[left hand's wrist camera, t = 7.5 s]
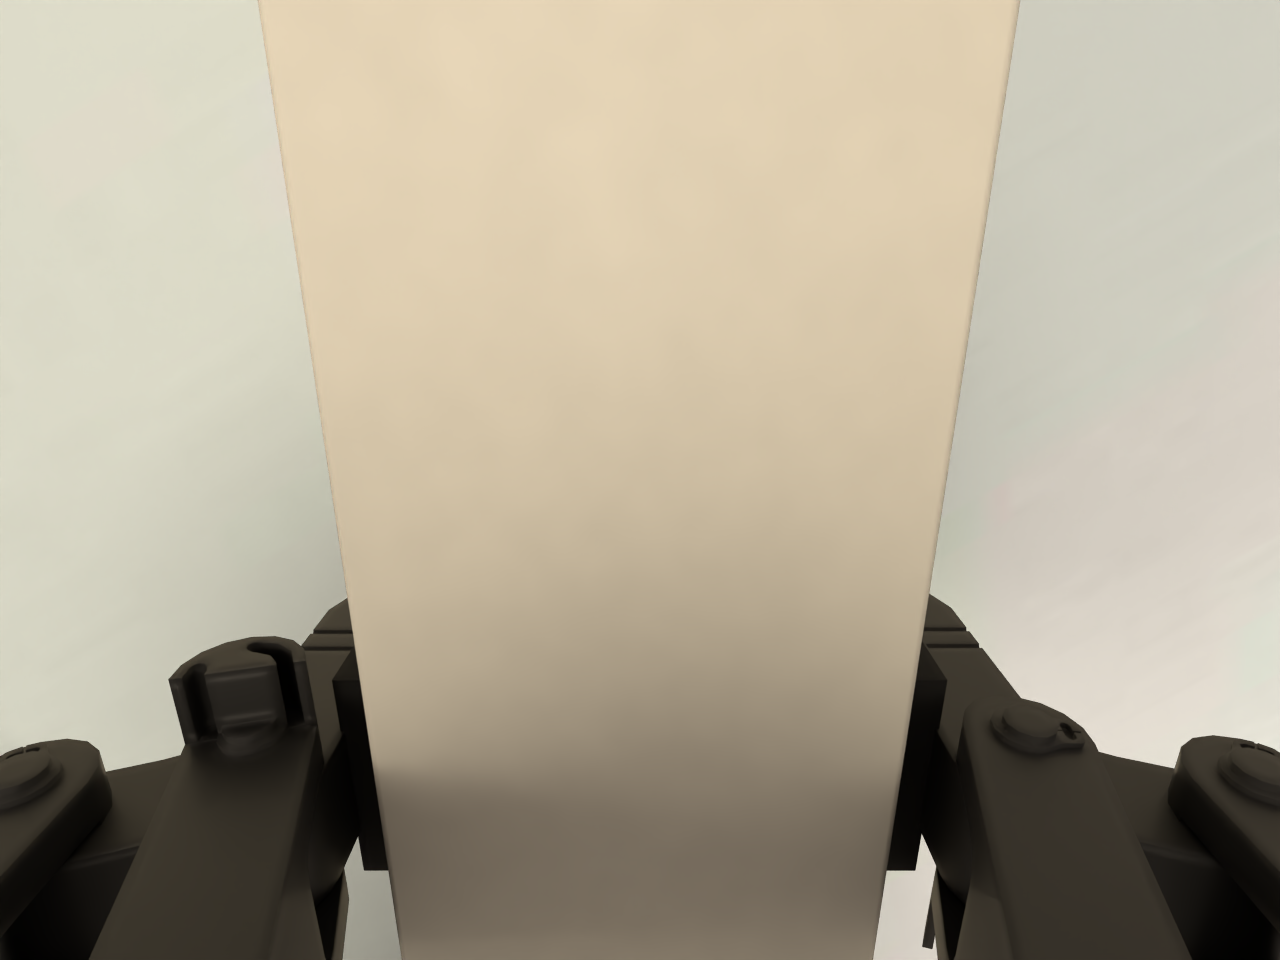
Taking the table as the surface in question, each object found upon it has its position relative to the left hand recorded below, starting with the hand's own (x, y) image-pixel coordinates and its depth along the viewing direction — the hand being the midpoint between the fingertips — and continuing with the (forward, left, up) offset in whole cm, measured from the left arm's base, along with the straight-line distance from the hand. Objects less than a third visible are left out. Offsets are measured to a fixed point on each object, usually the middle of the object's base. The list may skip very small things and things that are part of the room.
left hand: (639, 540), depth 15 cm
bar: (+30, +13, -1) cm, 32 cm away
